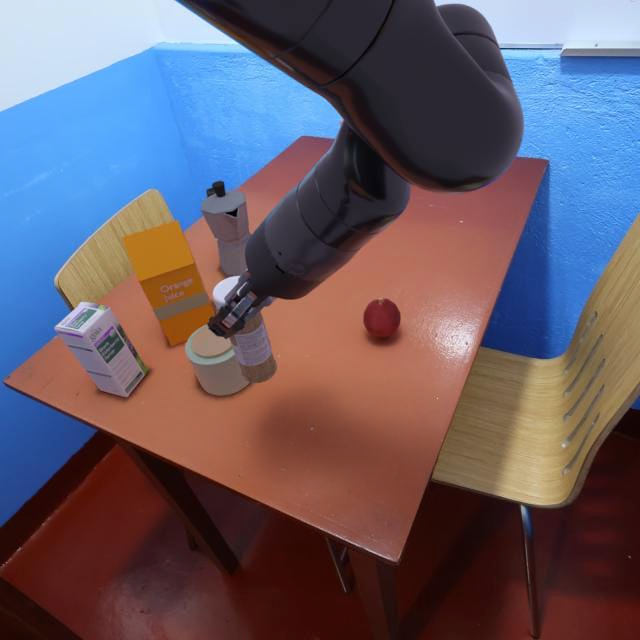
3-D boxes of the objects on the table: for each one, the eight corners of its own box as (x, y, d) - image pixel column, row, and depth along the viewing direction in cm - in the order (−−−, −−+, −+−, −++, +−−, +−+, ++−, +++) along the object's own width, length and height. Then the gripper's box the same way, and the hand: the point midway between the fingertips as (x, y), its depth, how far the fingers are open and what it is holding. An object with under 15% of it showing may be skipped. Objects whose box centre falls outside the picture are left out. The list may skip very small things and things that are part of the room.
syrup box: (127, 399, 73) (83, 333, 63) (98, 391, 75) (51, 326, 65) (149, 371, 77) (111, 305, 67) (121, 364, 79) (80, 299, 69)
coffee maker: (275, 270, 92) (254, 187, 80) (234, 289, 90) (207, 205, 78) (245, 238, 102) (222, 160, 90) (208, 254, 100) (179, 175, 88)
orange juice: (165, 319, 86) (119, 225, 72) (211, 303, 88) (175, 208, 74) (171, 347, 80) (122, 251, 67) (220, 329, 82) (183, 231, 68)
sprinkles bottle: (241, 361, 60) (211, 278, 51) (276, 354, 60) (252, 270, 51) (242, 388, 57) (210, 305, 48) (279, 381, 57) (254, 296, 48)
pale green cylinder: (228, 404, 70) (213, 370, 64) (188, 381, 74) (171, 347, 69) (267, 364, 74) (256, 329, 69) (227, 344, 79) (214, 310, 74)
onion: (372, 319, 79) (370, 281, 73) (405, 326, 76) (405, 288, 71) (359, 342, 75) (355, 305, 70) (393, 351, 73) (392, 313, 68)
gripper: (311, 170, 44) (238, 255, 57) (225, 257, 35) (161, 334, 48) (367, 227, 45) (283, 297, 58) (298, 323, 37) (217, 381, 50)
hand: (228, 314), depth 53 cm, fingers closed on sprinkles bottle, 4 cm apart
